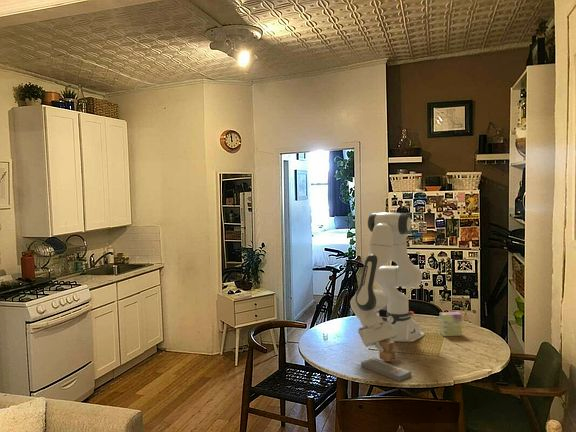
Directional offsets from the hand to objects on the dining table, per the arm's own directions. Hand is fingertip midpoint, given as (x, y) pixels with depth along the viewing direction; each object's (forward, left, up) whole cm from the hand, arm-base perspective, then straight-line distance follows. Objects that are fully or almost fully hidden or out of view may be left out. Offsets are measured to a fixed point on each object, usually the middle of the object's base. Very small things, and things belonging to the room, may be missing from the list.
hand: (388, 349), depth 214 cm
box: (-56, -6, -6) cm, 57 cm away
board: (+9, +6, -6) cm, 12 cm away
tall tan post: (0, -1, -4) cm, 4 cm away
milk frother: (-51, -50, -6) cm, 72 cm away
